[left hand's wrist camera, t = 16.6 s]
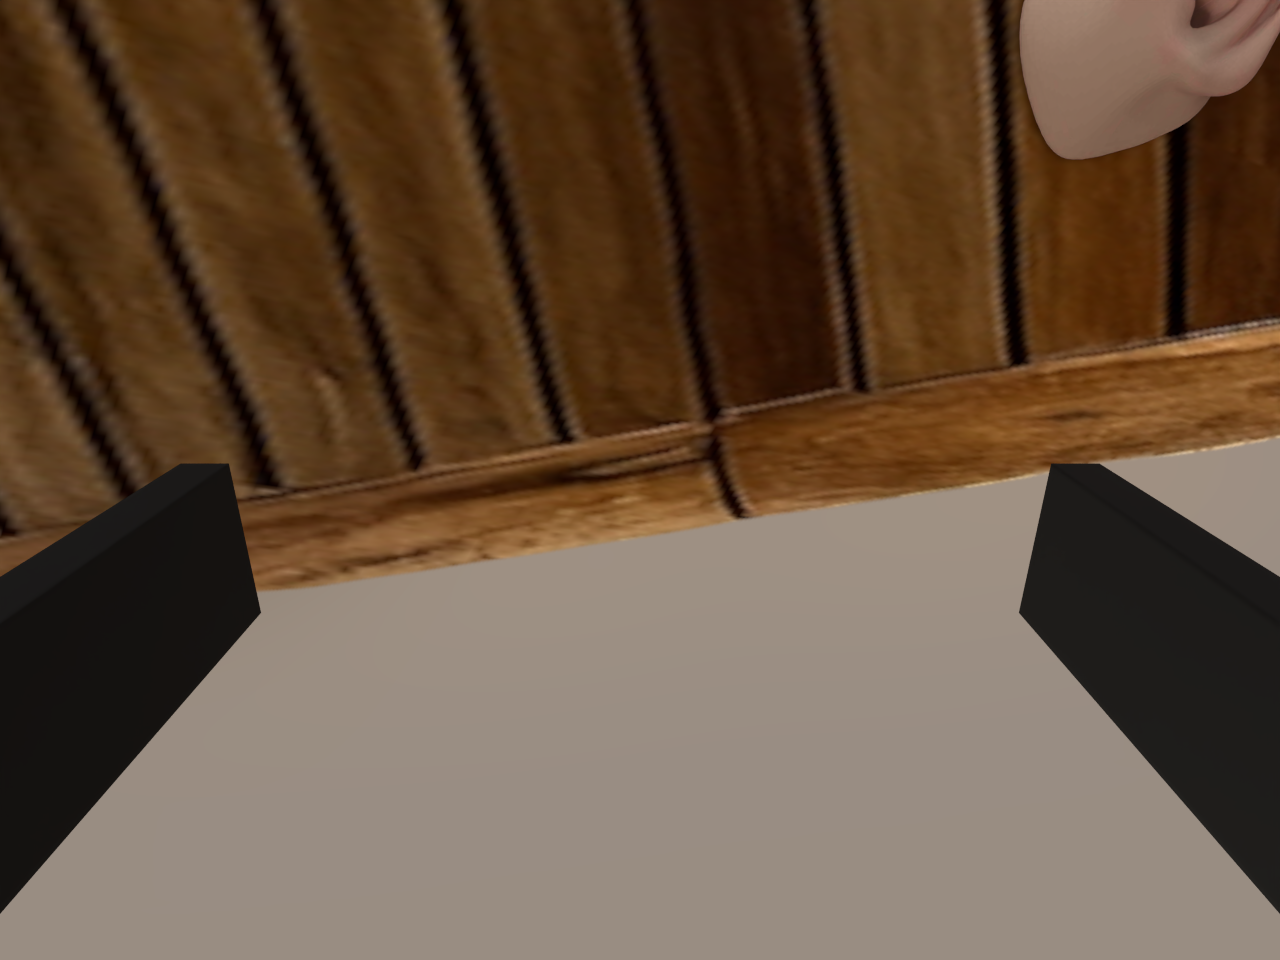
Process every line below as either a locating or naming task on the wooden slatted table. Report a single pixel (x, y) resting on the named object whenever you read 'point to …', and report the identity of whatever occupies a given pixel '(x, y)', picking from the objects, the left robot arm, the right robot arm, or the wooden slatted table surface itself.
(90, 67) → the wooden slatted table surface
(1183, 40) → the anatomical model
